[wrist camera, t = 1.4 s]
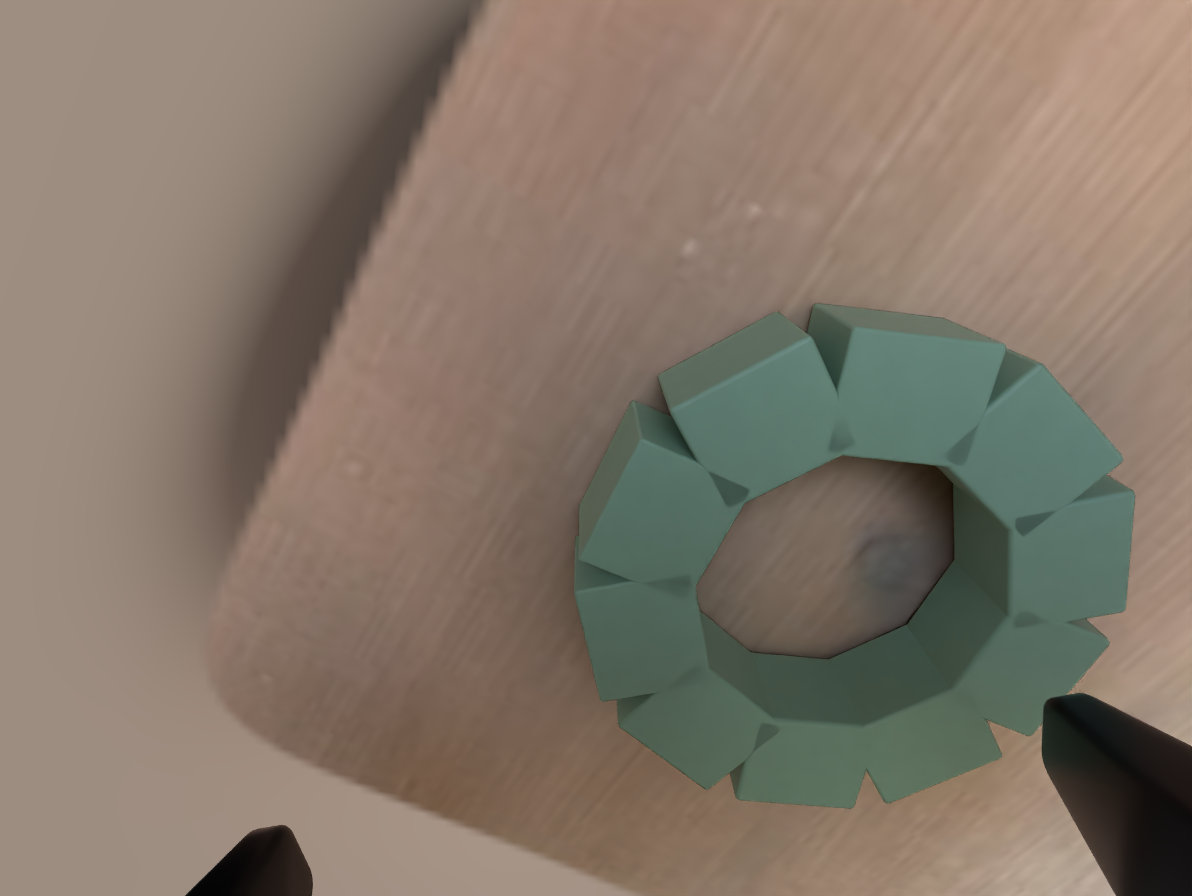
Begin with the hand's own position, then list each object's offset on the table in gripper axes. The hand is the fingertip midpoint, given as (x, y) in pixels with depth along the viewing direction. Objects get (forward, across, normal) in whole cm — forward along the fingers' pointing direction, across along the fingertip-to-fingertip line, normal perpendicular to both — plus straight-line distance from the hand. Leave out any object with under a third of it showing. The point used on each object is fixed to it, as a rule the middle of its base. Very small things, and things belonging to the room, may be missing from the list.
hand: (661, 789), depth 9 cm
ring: (+4, -3, 0) cm, 6 cm away
